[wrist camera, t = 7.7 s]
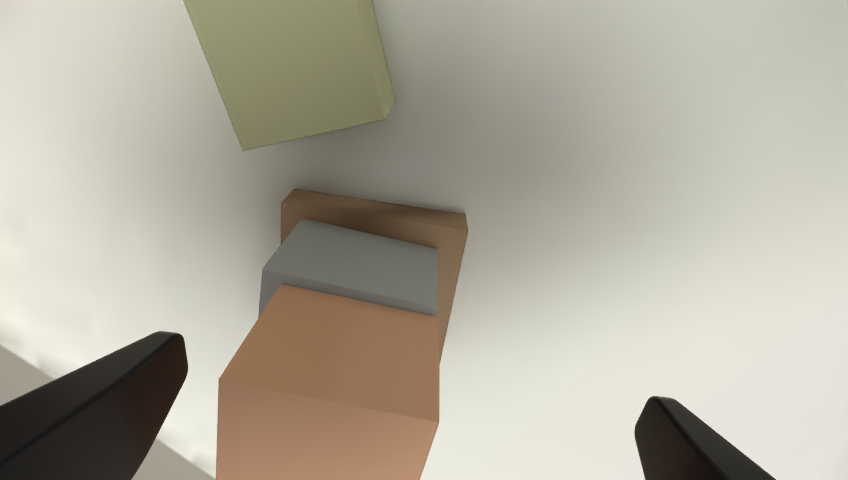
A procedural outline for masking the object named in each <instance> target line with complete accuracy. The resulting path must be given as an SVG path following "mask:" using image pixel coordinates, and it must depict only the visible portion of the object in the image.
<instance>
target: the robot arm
mask: <svg viewBox="0 0 848 480" xmlns="http://www.w3.org/2000/svg"><path fill="white" fill-rule="evenodd" d="M187 372H188V362H187V356H186V349H185V342H184V338H183V336H182V335H181V334H179V333H173V332H165V331H159V332H155V333H153V334H151V335H149V336H147V337H145V338H142V339H140V340H138V341H136V342H134V343H132V344H130V345H128V346H126V347H123V348H121V349H119V350H117V351H115V352H113V353H111V354H109V355H107V356H104V357H102V358H100V359H98V360H96V361H94V362H92V363H90V364H87V365H85V366H83V367H81V368H79V369H77V370H75V371H73V372H71V373H68V374H66V375H64V376H62V377H60V378H58V379H56V380H54V381H52V382H49V383H47V384H45V385H43V386H41V387H39V388H37V389H35V390H32V391H30V392H28V393H26V394H24V395H22V396H20V397H18V398H16V399H13V400H11V401H9V402H7V403H5V404H3V405H1V406H0V480H131V479H132V478H133V476H134V475H135V473H136V472H137V470H138V468H139V467H140V465H141V464H142V462H143V460H144V459H145V457H146V455H147V453H148V452H149V449H150V448H151V446H152V444H153V442H154V440H155V438H156V436H157V434H158V432H159V430H160V428H161V426H162V424H163V423H164V421H165V419H166V417H167V415H168V413H169V411H170V409H171V407H172V405H173V403H174V401H175V399H176V397H177V395H178V393H179V391H180V389H181V387H182V385H183V383H184V381H185V379H186V376H187ZM635 440H636V444H637V448H638V452H639V456H640V460H641V464H642V468H643V472H644V476H645V480H776V479H775V478H773V477H772V476H771V475H770V474H768V473H767V472H766V471H765V470H763V469H762V468H761V467H760V466H758V465H757V464H756V463H755V462H753V461H752V460H751V459H749V458H748V457H747V456H746V455H744V454H743V453H742V452H741V451H739V450H738V449H737V448H736V447H734V446H733V445H732V444H731V443H729V442H728V441H727V440H726V439H724V438H723V437H722V436H721V435H719V434H718V433H717V432H716V431H714V430H713V429H712V428H711V427H709V426H708V425H707V424H706V423H704V422H703V421H702V420H700V419H699V418H698V417H697V416H695V415H694V414H693V413H692V412H690V411H689V410H688V409H687V408H685V407H684V406H683V405H682V404H680V403H679V402H678V401H676V400H675V399H672V398H667V397H659V396H652V397H650V398H649V399H648V401H647V402H646V404H645V407H644V409H643V411H642V413H641V415H640V417H639V419H638V421H637V423H636V426H635Z"/></svg>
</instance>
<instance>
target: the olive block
mask: <svg viewBox="0 0 848 480" xmlns="http://www.w3.org/2000/svg"><path fill="white" fill-rule="evenodd" d="M183 1H184V3H185V6H186V8H187V11H188V14H189V16H190V19H191V21H192V24H193V26H194V29H195V31H196V34H197V36H198V39H199V41H200V44H201V46H202V49H203V51H204V54H205V57H206V59H207V62H208V64H209V67H210V69H211V72H212V74H213V77H214V79H215V82H216V84H217V87H218V89H219V92H220V94H221V97H222V100H223V102H224V105H225V107H226V110H227V112H228V115H229V117H230V120H231V122H232V125H233V127H234V130H235V132H236V135H237V137H238V140H239V143H240V145H241V148H242V150H243V151H245V150H249V149H254V148H258V147H263V146H267V145H272V144H276V143H281V142H285V141H290V140H294V139H299V138H303V137H308V136H312V135H317V134H321V133H326V132H331V131H335V130H340V129H344V128H349V127H353V126H358V125H362V124H367V123H371V122H376V121H380V120H385V118H386V117H387V115H388V114H389V112H390V110H391V109H392V107H393V106H394V104H395V102H396V100H395V96H394V92H393V88H392V83H391V79H390V75H389V71H388V66H387V62H386V58H385V54H384V49H383V45H382V41H381V36H380V32H379V28H378V24H377V19H376V15H375V11H374V7H373V2H372V0H183Z"/></svg>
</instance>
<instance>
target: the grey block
mask: <svg viewBox="0 0 848 480" xmlns="http://www.w3.org/2000/svg"><path fill="white" fill-rule="evenodd" d="M281 284H285V285H290V286H295V287H299V288H304V289H309V290H314V291H318V292H323V293H328V294H333V295H337V296H342V297H347V298H351V299H356V300H361V301H366V302H370V303H375V304H380V305H385V306H389V307H394V308H399V309H404V310H408V311H413V312H418V313H422V314H427V315H432V316H435V313H436V310H437V293H438V249H435V248H431V247H427V246H422V245H418V244H414V243H409V242H405V241H401V240H396V239H392V238H387V237H383V236H379V235H374V234H370V233H366V232H361V231H357V230H353V229H348V228H344V227H340V226H335V225H331V224H326V223H322V222H318V221H313V220H309V219H305V218H302V219H301V220H300V221H299V223H298V224H297V225H296V227H295V228H294V229H293V230H292V232H291V233H290V234H289V236H288V237H287V238H286V239H285V241H284V242H283V243H282V245H281V246H280V247H279V248H278V250H277V251H276V252H275V254H274V255H273V256H272V257H271V259H270V260H269V261H268V263H267V264H266V265H265V266H264V268H263V270H262V281H261V293H260V305H259V317H260V315H261V314H262V312H263V311H264V309H265V308H266V306H267V305H268V303H269V302H270V300H271V299H272V297H273V296H274V294H275V292H276V291H277V289H278V288H279V286H280V285H281ZM259 317H258V319H259Z"/></svg>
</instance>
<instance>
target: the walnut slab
mask: <svg viewBox="0 0 848 480" xmlns="http://www.w3.org/2000/svg"><path fill="white" fill-rule="evenodd" d="M302 218H305V219H309V220H313V221H318V222H322V223H326V224H331V225H335V226H340V227H344V228H348V229H353V230H357V231H361V232H366V233H370V234H374V235H379V236H383V237H387V238H392V239H396V240H401V241H405V242H409V243H414V244H418V245H422V246H427V247H431V248H435V249H438V293H437V310H436V313H435V316H437V317H440V350H439V364H440V360H441V355H442V350H443V346H444V341H445V336H446V332H447V327H448V322H449V317H450V313H451V308H452V303H453V299H454V294H455V289H456V285H457V280H458V275H459V270H460V266H461V261H462V256H463V252H464V247H465V242H466V238H467V233H468V228H467V222H466V216H465V214H458V213H451V212H445V211H438V210H431V209H425V208H418V207H411V206H405V205H398V204H391V203H385V202H378V201H371V200H365V199H358V198H351V197H345V196H338V195H331V194H325V193H318V192H311V191H305V190H298V189H294V190H293V191H292V192H291V193H290V194H289V195H288V196H287V198H286V199H285V200H284V201H283V202H282V203H281V245H282V243H283V242H284V241H285V239H286V238H287V237H288V236H289V234H290V233H291V232H292V230H293V229H294V228H295V227H296V225H297V224H298V223H299V221H300V220H301V219H302Z"/></svg>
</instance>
